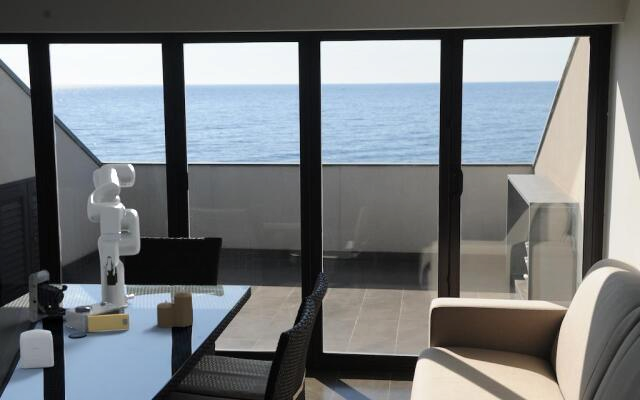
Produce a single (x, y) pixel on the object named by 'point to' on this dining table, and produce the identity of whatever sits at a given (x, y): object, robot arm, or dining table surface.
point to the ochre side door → (106, 322)
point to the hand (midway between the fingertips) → (112, 283)
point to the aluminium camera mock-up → (90, 313)
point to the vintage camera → (44, 297)
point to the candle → (175, 311)
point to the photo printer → (36, 349)
